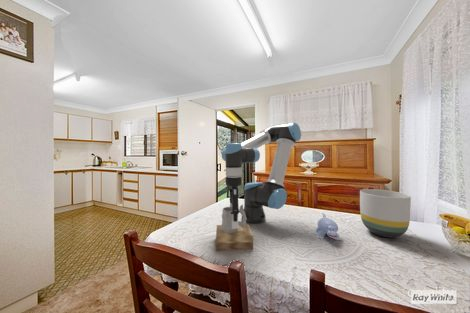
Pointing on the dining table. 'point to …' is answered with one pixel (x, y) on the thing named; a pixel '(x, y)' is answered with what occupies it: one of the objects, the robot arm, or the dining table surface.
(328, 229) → the light blue rounded figure
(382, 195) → the planter
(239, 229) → the wooden block
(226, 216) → the mug
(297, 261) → the dining table surface
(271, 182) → the robot arm
